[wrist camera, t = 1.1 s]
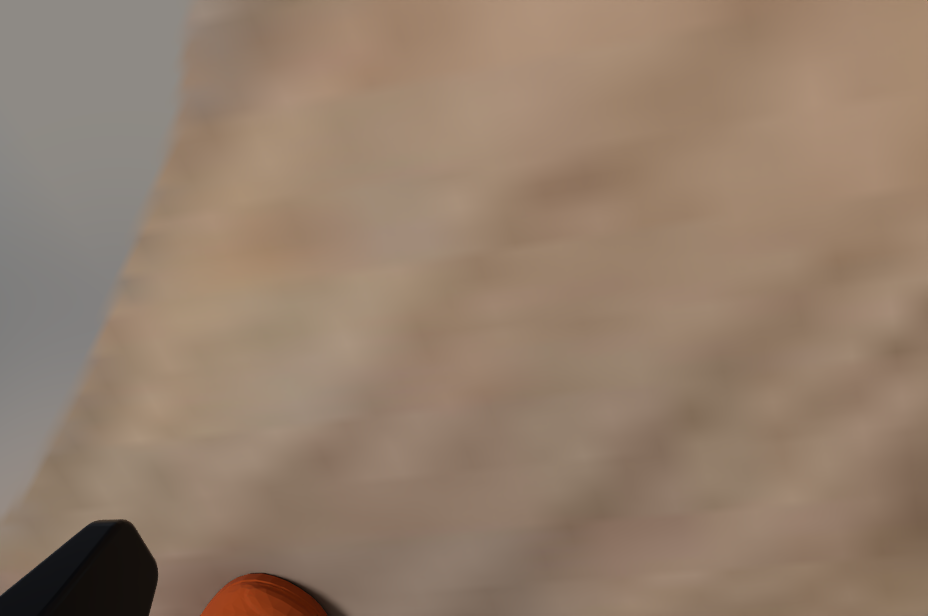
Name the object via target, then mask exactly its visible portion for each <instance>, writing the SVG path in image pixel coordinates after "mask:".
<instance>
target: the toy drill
mask: <svg viewBox="0 0 928 616" xmlns="http://www.w3.org/2000/svg"><path fill="white" fill-rule="evenodd" d="M200 616H327V614H326V612H325V611H324V610H323V608H322V607H321V605H320V604H319V603H318V602H317V601H316V600H315V599H314V598H313V597H312V596H310V595H309V594H307V593H306V592H304V591H303V590H302V589H300V588H298V587H297V586H295V585H293V584H292V583H290V582H288V581H286V580H283V579H280V578H278V577H275V576H271V575H267V574H263V573H260V574H247V575H244V576H241V577H238V578H236V579H234V580H233V581H231V582H229V583H228V584H226V585H225V586H224V587H223V588H222V589H221V590H220V591H219V592H218V593H217V594H216V595H215V596H214V598H213V599H212V600H211V601H210V602H209V604H208V605H207V607H206V608H205V609H204V611H203V612H202V614H201V615H200Z"/></svg>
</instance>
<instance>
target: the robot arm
mask: <svg viewBox="0 0 928 616" xmlns="http://www.w3.org/2000/svg"><path fill="white" fill-rule="evenodd" d="M157 581H158V568H157V564H156V561H155V559H154V557H153V556H152V554H151V553H150V551H149V549H148V548H147V546H146V544H145V543H144V541H143V540H142V538H141V536H140V535H139V533H138V531H137V530H136V528H135V527H134V525H133V524H132V523H131V522H129V521H127V520H123V519H119V520H98V521H94V522H92V523H90V524H89V525H87V526H86V527H85V528H83V529H82V530H81V531H80V532H78V533H77V534H76V535H75V536H73V537H72V538H71V539H70V540H69V541H67V542H66V543H65V544H64V545H62V546H61V547H60V548H59V549H57V550H56V551H55V552H54V553H53V554H51V555H50V556H49V557H48V558H46V559H45V560H44V561H43V562H41V563H40V564H39V565H38V566H36V567H35V568H34V569H33V570H32V571H30V572H29V573H28V574H27V575H25V576H24V577H23V578H22V579H20V580H19V581H18V582H17V583H16V584H14V585H13V586H12V587H11V588H9V589H8V590H7V591H6V592H4V593H3V594H2V595H1V596H0V616H149V613H150V609H151V605H152V601H153V598H154V594H155V590H156V586H157Z"/></svg>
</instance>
